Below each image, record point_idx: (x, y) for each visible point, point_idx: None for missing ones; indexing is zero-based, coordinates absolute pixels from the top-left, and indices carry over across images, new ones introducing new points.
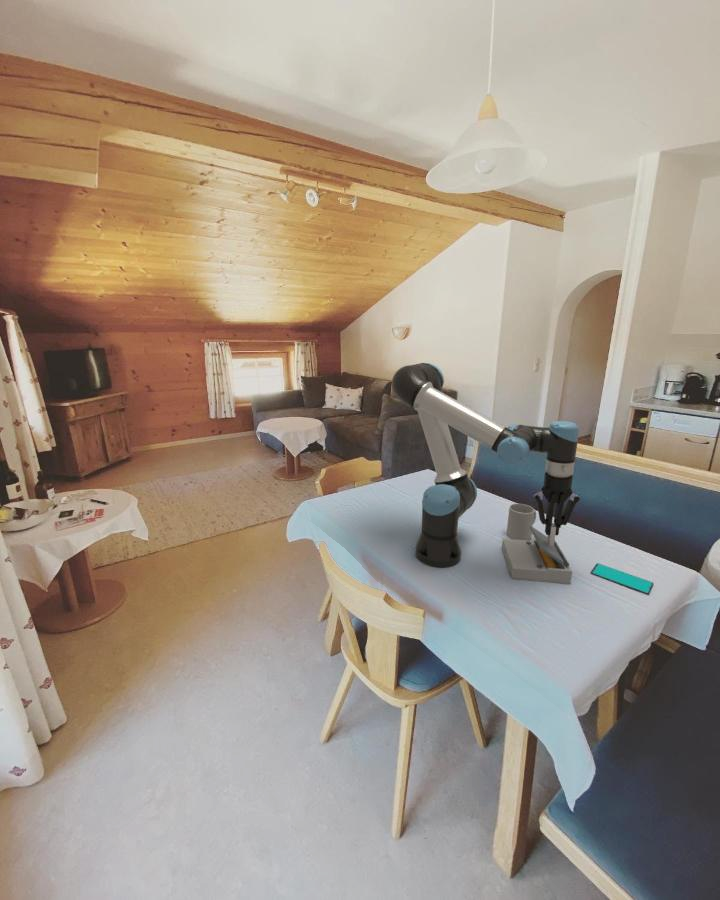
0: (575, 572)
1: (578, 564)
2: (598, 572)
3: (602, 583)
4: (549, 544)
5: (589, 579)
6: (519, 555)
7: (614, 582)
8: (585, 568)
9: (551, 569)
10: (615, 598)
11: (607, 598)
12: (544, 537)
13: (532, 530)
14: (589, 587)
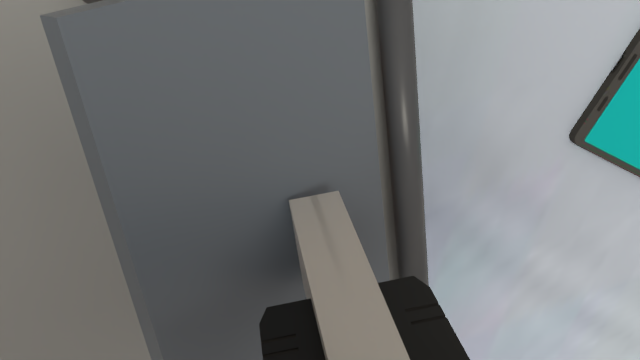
0: (472, 157)
1: (530, 33)
2: (627, 123)
3: (595, 224)
4: (305, 293)
5: (535, 209)
6: (30, 259)
7: None
8: (561, 77)
9: None
10: (599, 335)
11: (559, 349)
12: (272, 88)
13: (91, 153)
14: (503, 291)
